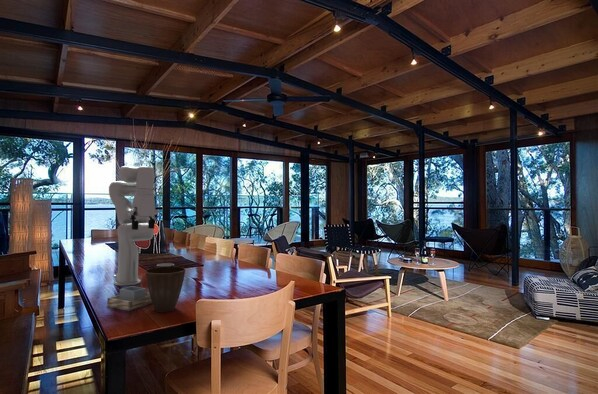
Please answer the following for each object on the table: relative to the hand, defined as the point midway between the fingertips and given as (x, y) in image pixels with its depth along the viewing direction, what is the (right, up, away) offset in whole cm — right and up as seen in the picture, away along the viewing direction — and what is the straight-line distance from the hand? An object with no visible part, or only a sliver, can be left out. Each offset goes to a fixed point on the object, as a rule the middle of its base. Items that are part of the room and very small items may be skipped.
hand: (143, 229), depth 158 cm
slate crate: (+3, -29, -17) cm, 34 cm away
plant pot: (+19, -31, -23) cm, 43 cm away
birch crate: (+3, -30, -17) cm, 35 cm away
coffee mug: (+1, -31, +20) cm, 37 cm away
